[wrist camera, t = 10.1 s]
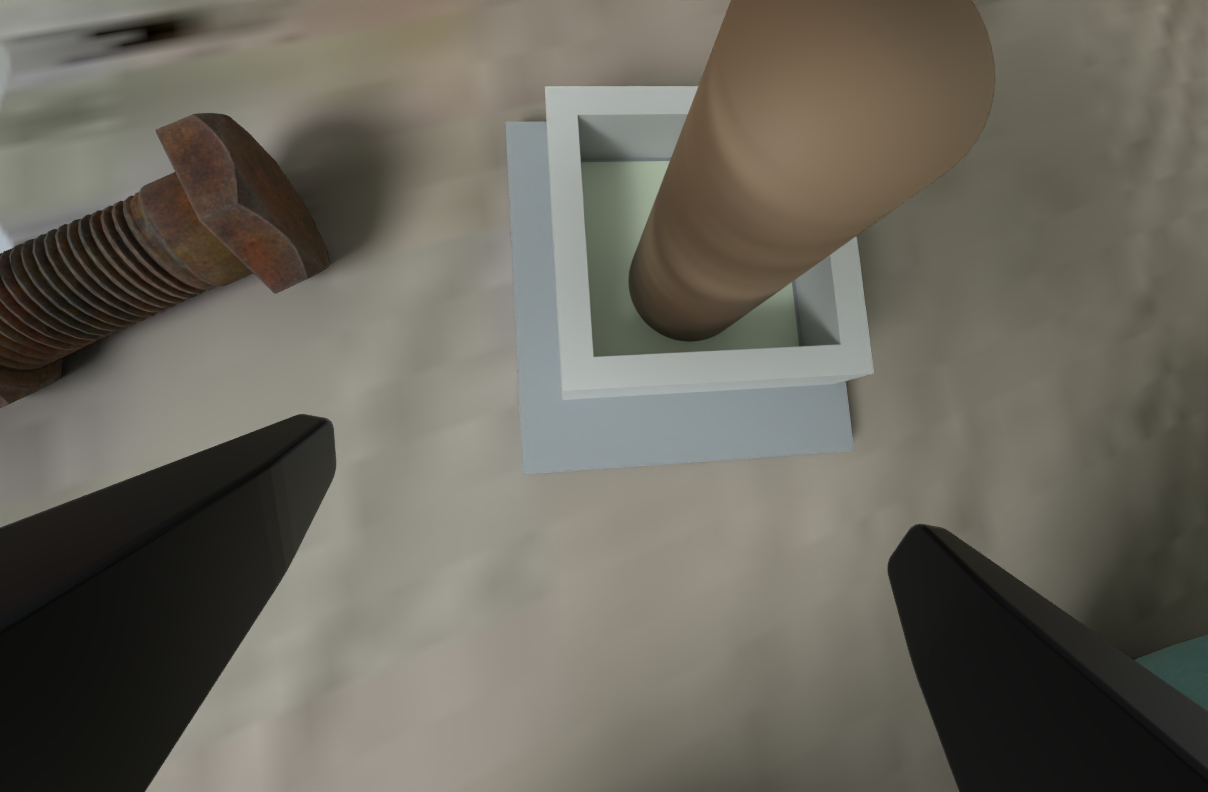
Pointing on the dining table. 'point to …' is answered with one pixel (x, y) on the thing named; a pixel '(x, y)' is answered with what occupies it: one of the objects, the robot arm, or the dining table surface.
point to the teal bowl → (1183, 668)
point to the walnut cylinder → (804, 146)
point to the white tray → (622, 338)
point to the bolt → (154, 251)
